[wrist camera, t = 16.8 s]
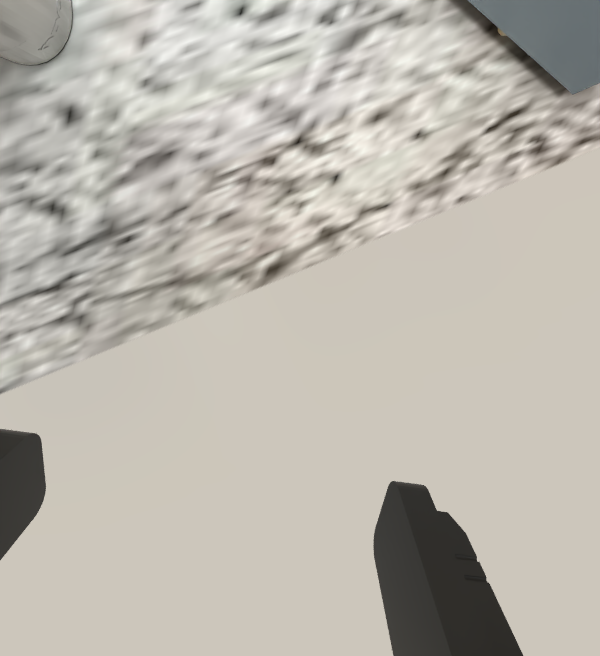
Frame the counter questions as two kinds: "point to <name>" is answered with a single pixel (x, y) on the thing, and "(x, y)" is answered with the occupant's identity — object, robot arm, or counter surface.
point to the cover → (553, 35)
